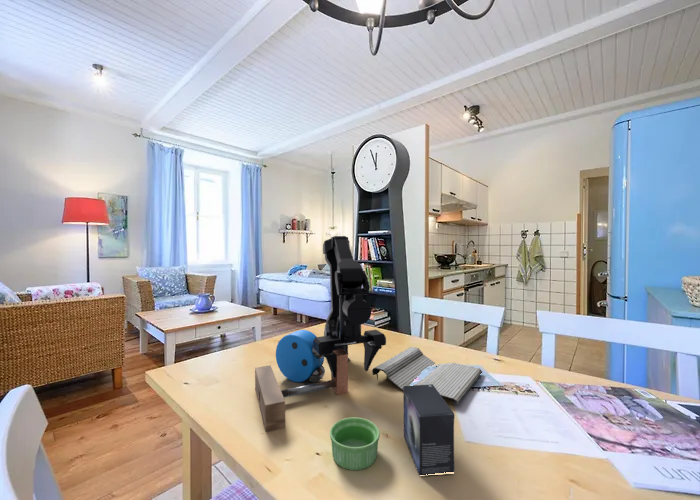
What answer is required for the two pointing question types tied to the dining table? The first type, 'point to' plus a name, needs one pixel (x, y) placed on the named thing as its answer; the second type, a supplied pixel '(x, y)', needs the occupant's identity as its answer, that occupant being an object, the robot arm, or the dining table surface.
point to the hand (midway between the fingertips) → (350, 373)
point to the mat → (444, 378)
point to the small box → (428, 429)
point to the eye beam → (269, 398)
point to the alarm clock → (299, 357)
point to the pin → (336, 383)
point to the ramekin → (354, 443)
